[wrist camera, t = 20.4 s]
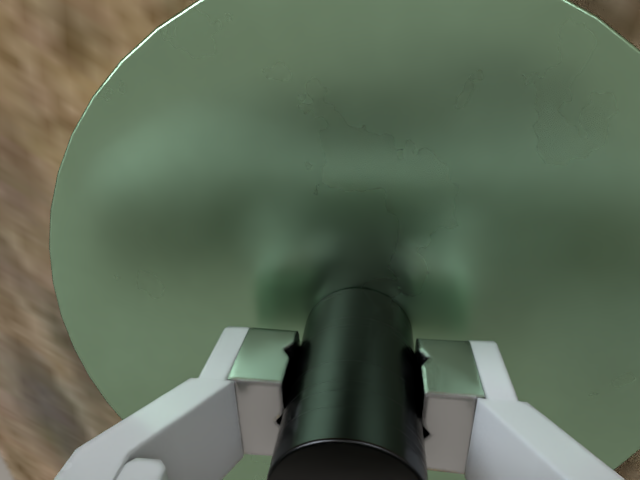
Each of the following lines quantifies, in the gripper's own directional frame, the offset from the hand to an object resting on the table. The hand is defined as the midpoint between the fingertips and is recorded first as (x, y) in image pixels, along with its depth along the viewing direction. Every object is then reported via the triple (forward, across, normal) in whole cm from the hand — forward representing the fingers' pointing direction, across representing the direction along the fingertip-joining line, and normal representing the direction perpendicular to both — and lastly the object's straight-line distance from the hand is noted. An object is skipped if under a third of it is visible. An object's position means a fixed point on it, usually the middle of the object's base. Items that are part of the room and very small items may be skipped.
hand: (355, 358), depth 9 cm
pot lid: (+2, 0, 0) cm, 2 cm away
